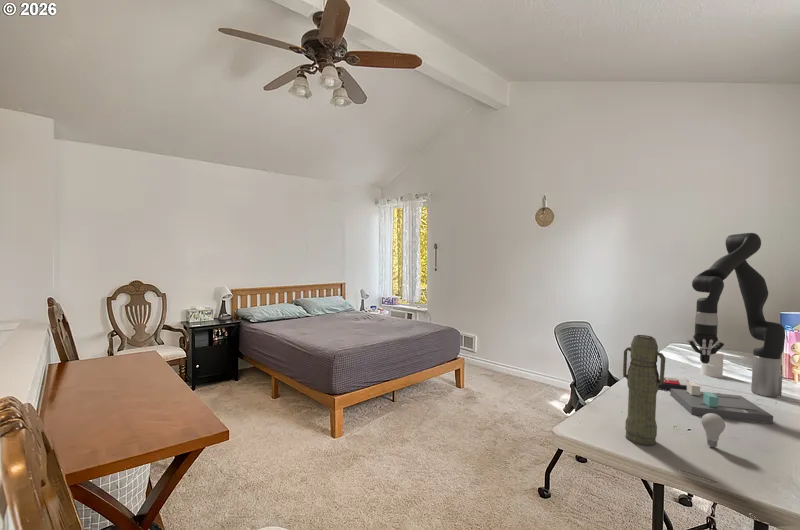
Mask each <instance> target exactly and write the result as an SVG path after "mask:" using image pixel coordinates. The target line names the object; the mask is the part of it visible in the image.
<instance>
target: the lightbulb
mask: <svg viewBox="0 0 800 530" xmlns="http://www.w3.org/2000/svg"><path fill="white" fill-rule="evenodd" d="M700 421H701V423H700V424H701V426H702V427H703V429H704V431H705V436H706V444H707V446H709V447H711V448H712V449H713V448H716V447H718V442H719V440H720V436H721V434H722V433H723V432H724V430H725V429H726V423H725V420H724V418H721V417H720V416H719V415H717V414H714V413H708V414H705V415H704V416H702V417H701V420H700Z"/></svg>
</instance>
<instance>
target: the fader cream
mask: <svg viewBox="0 0 800 530" xmlns="http://www.w3.org/2000/svg"><path fill="white" fill-rule="evenodd" d="M687 392H689V393H690V394H691V395H697V396H700V392H701V386H700V385H699V384H697V383H696V382H690V381H689V382H687Z"/></svg>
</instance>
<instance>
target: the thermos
mask: <svg viewBox="0 0 800 530" xmlns="http://www.w3.org/2000/svg"><path fill="white" fill-rule="evenodd" d="M658 349H659V347H658V343H657V340H656V338H654V337H653V336H651V335H645V334H637V335H634V336H633V338H632V340H631V343H630V347H626V348H625V349H624V351H623V365H622V366H623V367H622V368H623V369H622V375H623V378H625V379H626V380H627V383H626V385H627V388H628V396H627V398H628V399H627V403H628V404H627V417H626V419H625V426H624V428H625V429H624V430H625V438H626V440H628V441H629V442H631V443H632V444H633V443H634V444H635V445H638V446H644V447H654V446H655V445H656V444H657V441H656V438H657V435H658V434H657V433H658V425H657V421H656V412H657V411H656V409H657V393H658V391H659V389H658V386H659V385H661V384H663V383H664V378H665V369H666V356H665V355H664V354H663V352H660V351H658ZM628 351H629V352H630V363H629V364H630V365H629V366H628V369H627V365H628V364H627V362H628ZM658 357H659V358H660V368H659V369H660V370H659V371H658V365H657V362H658ZM659 372H660V373H659ZM659 376H660V380H659Z"/></svg>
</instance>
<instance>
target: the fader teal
mask: <svg viewBox="0 0 800 530" xmlns="http://www.w3.org/2000/svg"><path fill="white" fill-rule="evenodd" d="M703 392H704V395H703V402H704V403H705V404H706V405H708V406H709V407H717V408H718V400H719V397H717V396H716V395H714V394H713V393H714V392H710V393H706V392H707V391H703Z"/></svg>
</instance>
